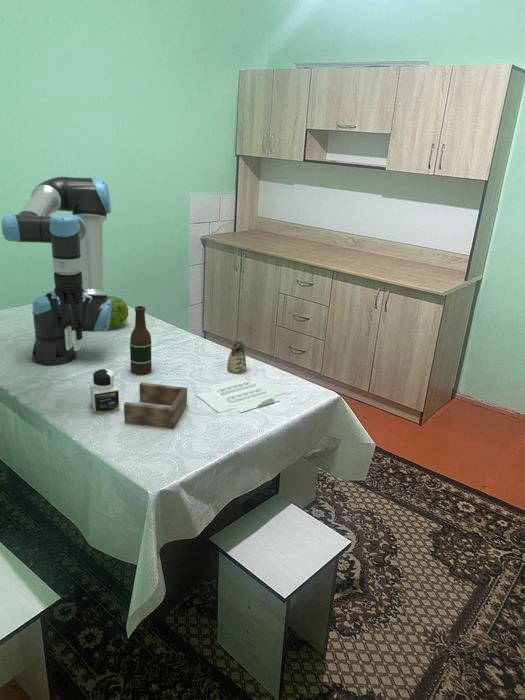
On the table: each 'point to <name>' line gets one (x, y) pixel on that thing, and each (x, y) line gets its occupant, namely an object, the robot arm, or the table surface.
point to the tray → (241, 394)
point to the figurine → (237, 358)
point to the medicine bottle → (104, 392)
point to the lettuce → (118, 312)
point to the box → (157, 413)
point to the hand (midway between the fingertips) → (73, 348)
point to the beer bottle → (140, 345)
